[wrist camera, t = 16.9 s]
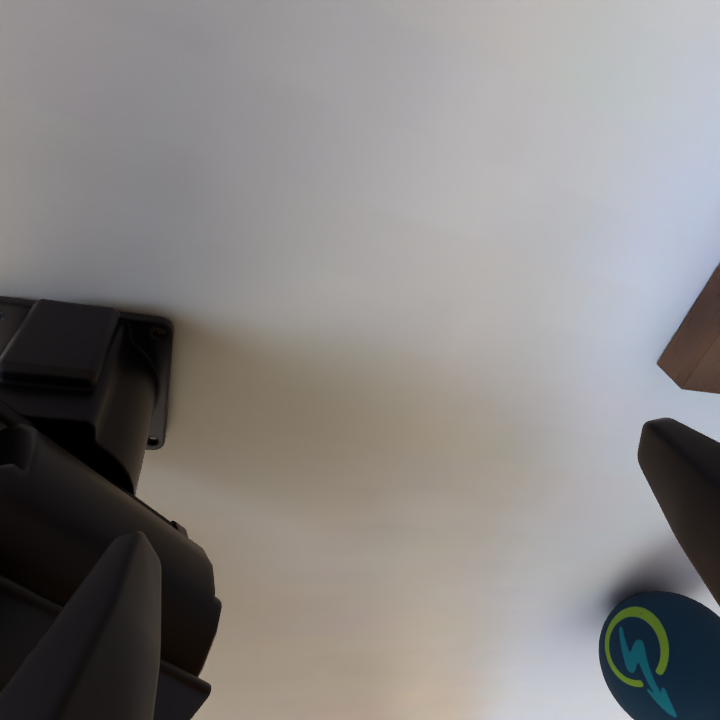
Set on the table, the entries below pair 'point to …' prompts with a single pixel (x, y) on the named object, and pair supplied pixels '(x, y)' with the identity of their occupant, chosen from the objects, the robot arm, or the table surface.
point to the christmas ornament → (663, 657)
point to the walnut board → (697, 344)
